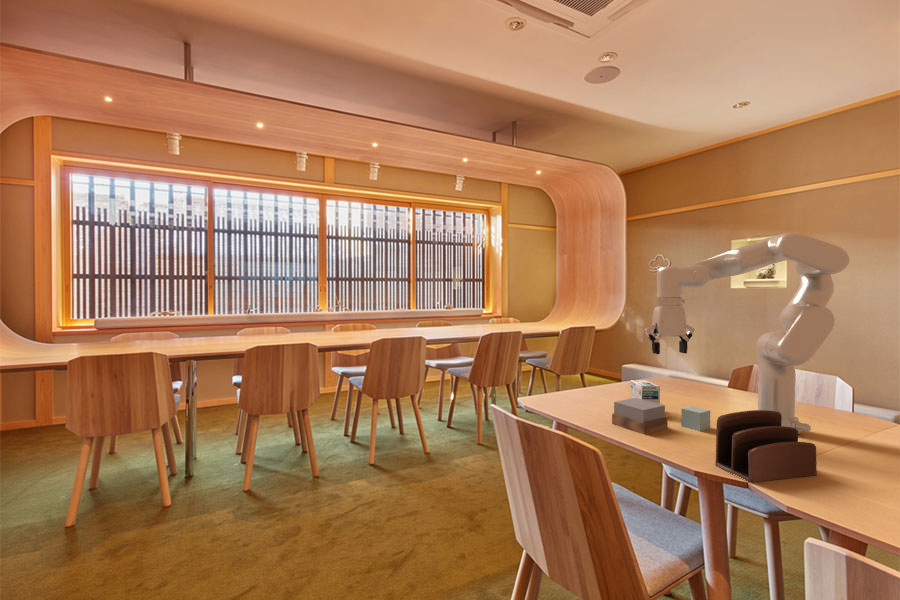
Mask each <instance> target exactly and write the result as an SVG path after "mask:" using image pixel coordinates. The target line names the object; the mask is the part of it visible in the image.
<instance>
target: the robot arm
mask: <svg viewBox="0 0 900 600" xmlns="http://www.w3.org/2000/svg"><path fill="white" fill-rule="evenodd" d="M784 261H786V262H787V261H792V262H794V267H795V270H796V272H797V274H798V276H799V286H798V288H797V290H796V291H795V293H794V294H793V296H792V297H791V299H790V300H789V301H788V303H787V304H786V305H785V307H784V308H783V310H782V311H781V313H780V315H779V318H778V321H779V324H780V326H781V327H782V328H783V329H784V330H787V331H786V332H784V331H783V332H782V331H774V330H773V331H769V332H765V333H763V334H761V335H760V336H759V337H758V339H757V341H756V345H755V350H756V358H757V363H758V364H757V365H758V381H757V382H758V385H757V388H758V389H757V394H758V395H757V399H758V400H757V410H768V411H777V412H780V413H781V415H782V423H781V426H785V427H793V428H796V429H797V430H798V435H800V434H801V433H802V431H804V432H808V433H810V432H811V430H812V429H811V427H812V425H810V423H809V424H808V423H805V422H801V421H800V420H799V417H796V381H797V377H796V370H795V367H797V366H798V367H799V366H801V365H802V366H803V365H804V364H807V362H809V361H810V360H811V359H812V358H813V357H814V355H815V354H817V352H818V351H819V349H820V348H821V347H822V345H823V344H824V342H825V341H826V339H827V338H828V337H829V336H830V334H831V333H832V331H833V329H834V326H835V316H834V313H833V311H832V310H831V309H830V308H829V307H827V305H828V304H829V301H830V300H831V298H832V297H833V294H834V291H835V290H834V286H835V285H834V282H833V281H834V280H833V277H832V275H836V274H838V273H839V274H840V273H842V272H843V271H845V270H846V269H847V267H848V266H849V264H850V255H849V254H848V252H847V251H846V249H844V248H842V247H841V246H838V245H836V244H833V243H830V242H827V241H824V240H820V239H818V238H814V237H812V236H808V235H805V234H803V233H799V232H793V231H792V232H785V233H781V234H777V235H773V236H770V237H767V238H764V239H761V240H758V241H755V242H753V243H749V244H746V245H743V246H741V247H740V246H739V247H737V248H734V249H731V250H728V251H726V252H724V253H721V254H717V255H716V256H713V257H710V258H707V259H704V260H700V261H698V262H695V263H692V264H690V265H689V264H688V265H686V266H675V265H674V266H673V265H672V266H671V265H670V266H668V265H667V266H661V267H658V269H657V270H656V297H657V298H656V306H655V307H654V310H653V314H652V320H651V321H652V322H651V325H650V326H648V327H646V328H644V333H645V334H646V337H647V338H648V340H649V342H651V352H652V354H655V355H660V354H661V342H659V341H660V340H661V338H662V337H666V338H667V337H678V338H679V339H680V340H679V341H678V343H679V344H678V347H679V348H678V352H679V353H681V354H688V343H689V341H690V339H691V338H692V337H693V335H694V332H695V327H692V326H691V325H689V324H687V316H686V310H685V308H684V306H683V304H685V303H686V300H685V299H683V288H686V289H691V288H693V289H696V288H697V289H699V288H702V287H706V285H708V284H709V283H710V281H714V280H718V279H721V278H728V277H735V276H739V275H744V274H746V273H749V272H752V271H756V270H759V269H762V268H766V267H768V266H771V265H774V264H778V263H780V262H784Z"/></svg>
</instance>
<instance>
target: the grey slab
mask: <svg viewBox="0 0 900 600" xmlns="http://www.w3.org/2000/svg"><path fill="white" fill-rule="evenodd" d="M613 413H614V414H617V415H620V416H623V417H626V418H630V419H633V420H636V421H639V422H643V423H644V422H648V421H652V420H657V419H661V418H665V417H666V416H665V415H666V405H664V404H661V403H660V404H658V403H654V402H650V401H646V400H642V399H638V398H632V399H631V398H628V399H627V398H626V399H623V400H617V401H614V402H613Z"/></svg>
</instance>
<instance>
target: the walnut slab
mask: <svg viewBox="0 0 900 600" xmlns="http://www.w3.org/2000/svg"><path fill="white" fill-rule="evenodd" d="M668 421H669V417H666V416H665V418H661V419H657V420H652V421H648V422H644V423H643V422H639V421H636V420H633V419H630V418H626V417H623V416H620V415H617V414H614V412H613V413H611V424H612V425H613V424H614V426H616V425H617V427H620V428H623V429H627V430H630V431H632V432H635V433H638V434H641V435H644V434H645V435H648V434H651V433H656V432H659V431H663V430H667V429H668Z"/></svg>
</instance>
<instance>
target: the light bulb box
mask: <svg viewBox="0 0 900 600" xmlns="http://www.w3.org/2000/svg"><path fill="white" fill-rule="evenodd" d="M660 396H661V385H658V384H655V383H653V382H651V381H649V380H647V379H646V380H645V379H644V380H643V379H639V380H636V379H631V380H630V399H632V398H638V399H642V400H646V401H650V402H654V403H658V404H661V397H660Z"/></svg>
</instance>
